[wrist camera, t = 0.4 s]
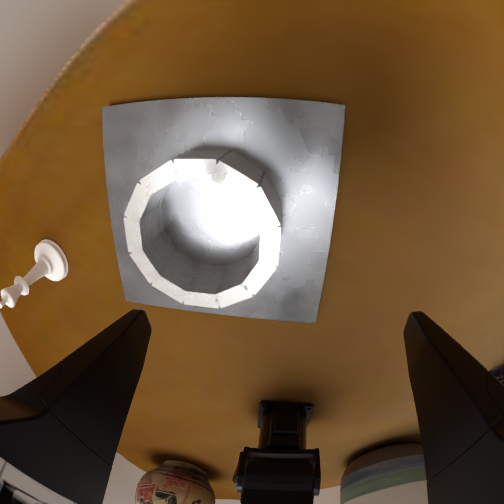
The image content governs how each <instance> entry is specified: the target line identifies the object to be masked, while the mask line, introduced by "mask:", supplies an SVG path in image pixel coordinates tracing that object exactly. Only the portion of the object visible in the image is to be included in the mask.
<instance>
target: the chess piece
mask: <svg viewBox="0 0 504 504" xmlns="http://www.w3.org/2000/svg"><path fill="white" fill-rule="evenodd" d="M35 260H36V264H35V266H34V267H33V268H32V269H31V270H30V271H29V272H28V273H27V275H26V276H25V277H24V278H22V277H20V276H16V278H15V279H14V284H15V285H13V286H10V287H8V288H4V289H2V290H1V297H2V299H3V300H2V301H1V302H0V309H1V308H2V307H3V306H4V305H5V304H6V305H7V306H9V307H11V308H12V307H14V306H15V304H16V302H17V300H18V298H19V296H20V294H22V295H27V294H28V293H29V288H28V286H29V285H31V284H32V283H33V282H35V281H36V280H38V279H40V278H41V277H43V276H46V277H47V278H48V279H50V280H53V281H60V280H61V279H63V278H65V277H66V275H67V273H68V262H67V259H66V256H65V254H64V252H63V251H62V249H61V248H60V247H59V246H58V245H57V244H56V243H55V242H53V241H51V240H48V239H44V240H42V241H41V242H40V243H39V244H38V245H37V246H36V248H35Z"/></svg>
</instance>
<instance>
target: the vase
mask: <svg viewBox="0 0 504 504" xmlns="http://www.w3.org/2000/svg"><path fill="white" fill-rule="evenodd" d="M426 482H427V481H426V472H425V463H424V455H423V448H422V445H419V444H413V443H404V444H396V445H391V446H386V447H383V448H379V449H376V450H373V451H371V452H368V453H366V454H364V455H362V456H360V457H358V458H357V459H355V460H354V461H353V462H351V463H350V464H349V465H348V467H347V468H346V470H345V471H344V474H343V476H342V480H341V489H340V490H341V491H340V494H341V495H340V499H341V500H340V504H428V495H427V483H426Z"/></svg>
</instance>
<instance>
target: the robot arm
mask: <svg viewBox="0 0 504 504" xmlns="http://www.w3.org/2000/svg"><path fill="white" fill-rule="evenodd" d="M150 335H151V325H150V322H149V320H148V317H147V315H146V312H145V311H144V310H142V309H133V310H131V311H130V312H128V313H127V314H125V315H124V316H122V317H121V318H120V319H118V320H117V321H115V322H114V323H113V324H111V325H110V326H108V327H107V328H106V329H104V330H103V331H102V332H100V333H99V334H97V335H96V336H95V337H93V338H92V339H90V340H89V341H88V342H86V343H85V344H84V345H82V346H81V347H79V348H78V349H77V350H75V351H74V352H73V353H71V354H70V355H68V356H67V357H66V358H64V359H63V361H60V362H59V363H57V364H56V365H55V366H53V367H52V368H50V369H49V370H48V371H46V372H45V373H43V374H42V375H40V376H39V377H37V378H36V379H34V380H32V381H31V382H29V383H28V384H26V385H24V386H23V387H21V388H19V389H18V390H16V391H15V392H13V393H11V394H9V395H6V396H2V397H0V504H75V503H77V504H102V503H103V499H104V495H105V491H106V487H107V484H108V480H109V476H110V472H111V469H112V465H113V461H114V457H115V454H116V451H117V447H118V444H119V440H120V437H121V434H122V430H123V427H124V424H125V421H126V417H127V414H128V411H129V408H130V405H131V402H132V399H133V396H134V393H135V390H136V387H137V384H138V381H139V378H140V375H141V372H142V369H143V365H144V361H145V357H146V352H147V348H148V344H149V339H150ZM404 341H405V348H406V355H407V363H408V371H409V377H410V382H411V387H412V391H413V396H414V401H415V406H416V411H417V417H418V423H419V428H420V435H421V441H422V448H423V455H424V463H425V472H426V481H427V482H426V483H427V495H428V504H504V385H503V384H502V383H501V382H500V381H498V380H497V379H496V378H495V377H494V376H493V375H492V374H491V373H490V372H489V371H487V369H486V368H485V367H484V366H483V365H481V364H480V363H479V362H478V361H477V360H476V359H475V358H474V357H473V356H472V355H471V354H470V353H469V352H467V351H466V350H465V349H464V348H463V347H462V346H461V345H460V344H459V343H458V342H456V341H455V340H454V339H453V338H452V337H451V336H450V335H449V334H447V333H446V332H445V331H444V330H443V329H442V328H441V327H440V326H438V325H437V324H436V323H435V322H434V321H433V320H431V319H430V318H429V317H428V316H427V315H426V314H424V313H423V312H421V311H416V312H411V313H410V314H409V317H408V320H407V323H406V326H405V329H404ZM312 411H313V405H312V404H299V403H283V402H270V401H261V402H260V409H259V418H258V428H260V436H259V444H258V448H249V447H244V451H243V452H240V457H239V462H238V465H237V468H236V471H235V473H234V476H233V482H234V483H235V484H236V488H237V493H239V494H241V500H240V501H241V504H313V499H314V496H318V495H319V491H320V482H321V471H320V456H319V448H317V449H306V428H307V425H308V422H309V419H310V417H311V414H312Z"/></svg>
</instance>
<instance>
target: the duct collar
mask: <svg viewBox="0 0 504 504" xmlns="http://www.w3.org/2000/svg"><path fill="white" fill-rule="evenodd" d="M344 117H345V105H340V104H333V103H324V102H315V101H305V100H293V99H278V98H256V97H203V98H181V99H166V100H154V101H144V102H135V103H127V104H119V105H112V106H106V107H102V123H103V145H104V160H105V173H106V183H107V192H108V201H109V209H110V217H111V224H112V230H113V237H114V243H115V249H116V254H117V260H118V265H119V270H120V275H121V280H122V285H123V290H124V294H125V299H126V301H129V302H135V303H141V304H147V305H154V306H160V307H167V308H174V309H181V310H189V311H197V312H204V313H213V314H221V315H230V316H239V317H249V318H259V319H270V320H282V321H294V322H308V323H316V318H317V313H318V308H319V303H320V298H321V293H322V287H323V282H324V276H325V270H326V265H327V259H328V252H329V246H330V240H331V233H332V226H333V219H334V212H335V205H336V197H337V189H338V180H339V171H340V162H341V152H342V141H343V130H344Z"/></svg>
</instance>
